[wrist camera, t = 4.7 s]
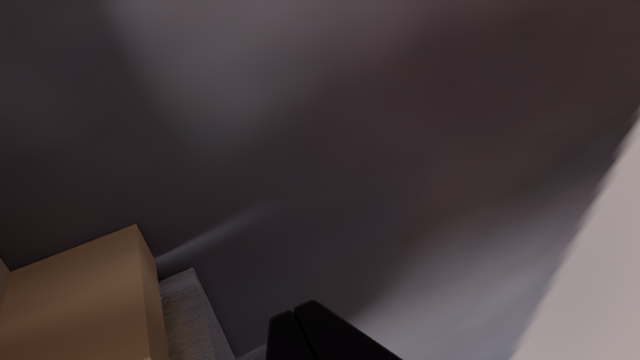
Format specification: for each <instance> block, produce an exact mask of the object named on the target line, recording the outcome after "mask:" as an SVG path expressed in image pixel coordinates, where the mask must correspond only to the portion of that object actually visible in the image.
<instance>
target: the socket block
mask: <svg viewBox="0 0 640 360" xmlns="http://www.w3.org/2000/svg"><path fill="white" fill-rule="evenodd" d="M0 360H169V353H168V346H167V339H166V332H165V325H164V318H163V311H162V304H161V298H160V291H159V284H158V277H157V270H156V263H155V259H154V257H153V255H152V253H151V251H150V249H149V247H148V246H147V244H146V242H145V240H144V238H143V236H142V234H141V232H140V230H139V228H138V226H137V224H134V225H132V226H129V227H126V228H124V229H121V230H119V231H116V232H113V233H111V234H108V235H105V236H103V237H100V238H98V239H95V240H92V241H90V242H87V243H85V244H82V245H79V246H77V247H74V248H72V249H69V250H66V251H64V252H61V253H58V254H56V255H53V256H51V257H48V258H45V259H43V260H40V261H38V262H35V263H32V264H30V265H27V266H25V267H22V268H19V269H17V270H14V271H12V272H10V276H9V280H8V284H7V288H6V292H5V296H4V300H3V304H2V309H1V313H0Z"/></svg>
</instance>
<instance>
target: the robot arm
mask: <svg viewBox="0 0 640 360" xmlns="http://www.w3.org/2000/svg"><path fill="white" fill-rule="evenodd" d="M293 312H294V313H293ZM265 360H403V359H401V358H400V357H398V356H397V355H395V354H394V353H392V352H391V351H389V350H388V349H386V348H385V347H383V346H382V345H381V344H379V343H378V342H376V341H375V340H373V339H372V338H370V337H369V336H367V335H366V334H364V333H363V332H361V331H360V330H359V329H357V328H356V327H354V326H353V325H351V324H350V323H348V322H347V321H345V320H344V319H342V318H341V317H339V316H338V315H336V314H335V313H334V312H332V311H331V310H329V309H328V308H326V307H325V306H323V305H322V304H320V303H319V302H317V301H316V300H309V301H307V302H305V303H303V304H300V305H298V306H296V307H295V308H294V310H293V311H291V310H286V311H284V312H282V313H280V314H277V315H275V316H273V317H271V319H270V321H269V329H268V339H267V349H266V358H265Z"/></svg>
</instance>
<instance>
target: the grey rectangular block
mask: <svg viewBox="0 0 640 360" xmlns="http://www.w3.org/2000/svg"><path fill="white" fill-rule="evenodd" d="M158 284H159V291H160V298H161V304H162V311H163V318H164V325H165V332H166V339H167V346H168V353H169V360H236V358H235V356H234V354H233V351H232V349H231V347H230V345H229V343H228V341H227V339H226V337H225V334H224V332H223V330H222V328H221V326H220V324H219V322H218V319H217V317H216V315H215V313H214V311H213V309H212V307H211V304H210V302H209V300H208V298H207V296H206V294H205V292H204V289H203V287H202V285H201V283H200V281H199V279H198V277H197V275H196V272H195V270H194V268H190V269H188V270H185V271H183V272H180V273H178V274H175V275H173V276H170V277H168V278H166V279H163V280H161V281H158Z"/></svg>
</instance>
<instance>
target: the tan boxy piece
mask: <svg viewBox="0 0 640 360" xmlns="http://www.w3.org/2000/svg"><path fill="white" fill-rule="evenodd" d="M9 276H10V271H9V269H8V268H7V267H6V265H5V264H4V262H3V261H2V260H1V258H0V313H1V309H2V304H3V300H4V296H5V292H6V288H7V284H8V280H9Z"/></svg>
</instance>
